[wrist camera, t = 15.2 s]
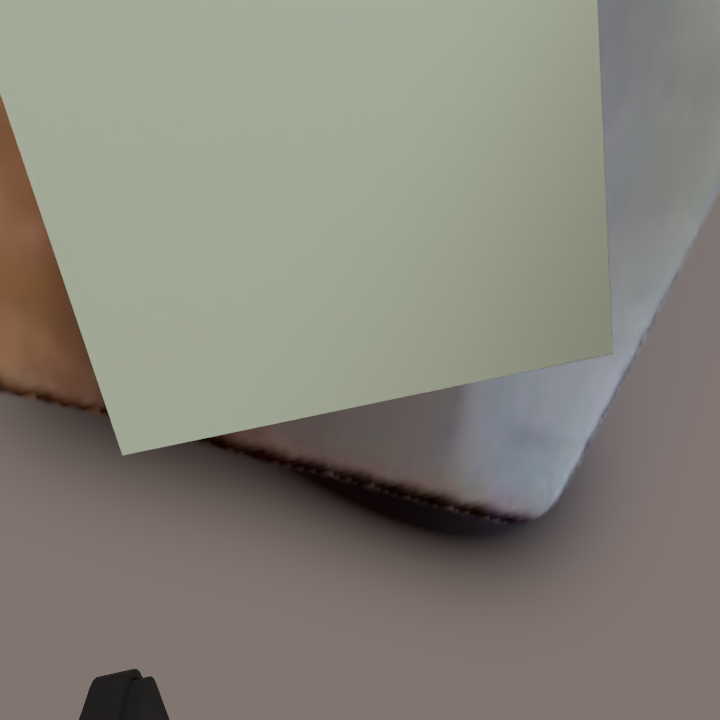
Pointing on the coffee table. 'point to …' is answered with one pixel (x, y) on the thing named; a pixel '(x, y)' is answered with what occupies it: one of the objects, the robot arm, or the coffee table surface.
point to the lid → (312, 197)
